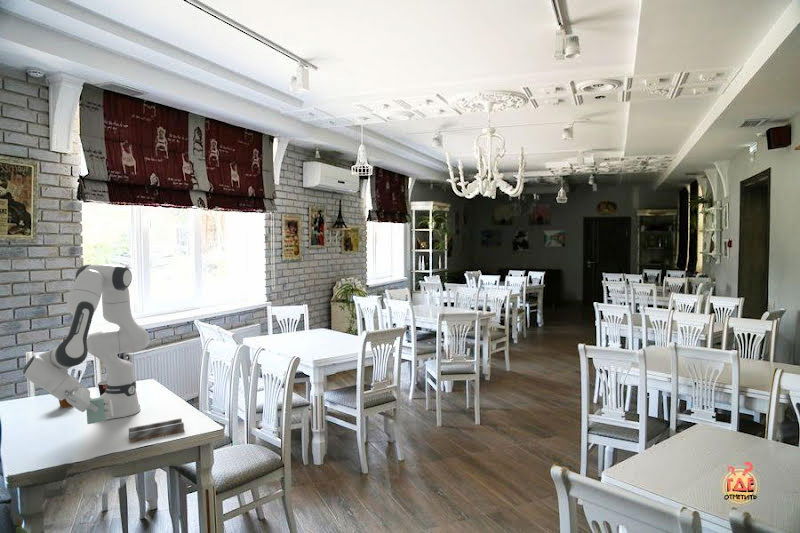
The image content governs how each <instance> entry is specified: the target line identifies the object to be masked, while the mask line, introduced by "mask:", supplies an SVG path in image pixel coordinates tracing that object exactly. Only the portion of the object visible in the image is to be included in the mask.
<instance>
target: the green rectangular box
mask: <svg viewBox="0 0 800 533" xmlns="http://www.w3.org/2000/svg"><path fill="white" fill-rule="evenodd" d="M99 397H100V396H99ZM99 397H95V398H92V399H90V402H91V403H92V404H94V405H96V406H98V407H99V409H98V410H97V411H96V412H94V411H93V410H91V409H88V408H87V409H86V410H85V411H86V420H87V421H86V422H87V425H90V424H97V423H102V422H106V420H105V410H104V397H100V398H99Z"/></svg>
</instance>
